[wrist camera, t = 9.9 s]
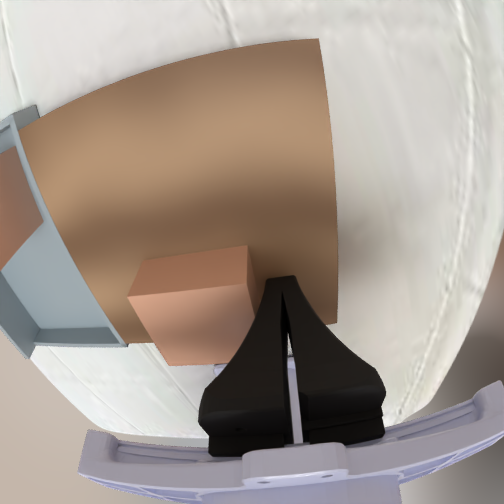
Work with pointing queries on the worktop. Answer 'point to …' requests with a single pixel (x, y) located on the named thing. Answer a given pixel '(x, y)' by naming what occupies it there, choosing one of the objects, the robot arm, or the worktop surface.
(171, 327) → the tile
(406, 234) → the worktop surface
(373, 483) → the robot arm
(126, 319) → the board
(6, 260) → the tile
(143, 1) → the worktop surface
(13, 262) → the tray
